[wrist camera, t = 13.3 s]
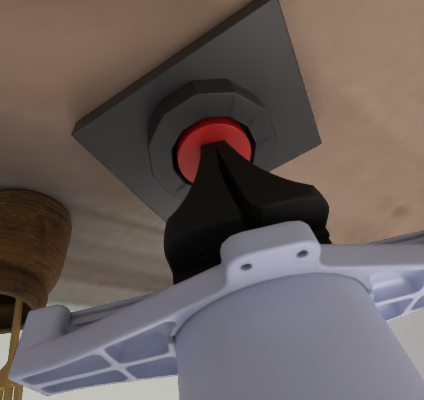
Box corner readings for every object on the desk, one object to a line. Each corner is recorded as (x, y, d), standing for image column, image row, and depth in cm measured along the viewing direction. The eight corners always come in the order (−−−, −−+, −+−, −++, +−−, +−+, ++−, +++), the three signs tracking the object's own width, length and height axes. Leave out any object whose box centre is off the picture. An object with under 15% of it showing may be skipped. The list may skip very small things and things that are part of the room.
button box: (167, 212, 22) (170, 244, 19) (75, 122, 16) (63, 153, 13) (312, 133, 19) (336, 159, 17) (267, -9, 13) (293, 0, 11)
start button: (198, 180, 18) (201, 197, 17) (161, 133, 15) (162, 150, 14) (253, 149, 17) (262, 165, 16) (224, 94, 14) (231, 108, 13)
